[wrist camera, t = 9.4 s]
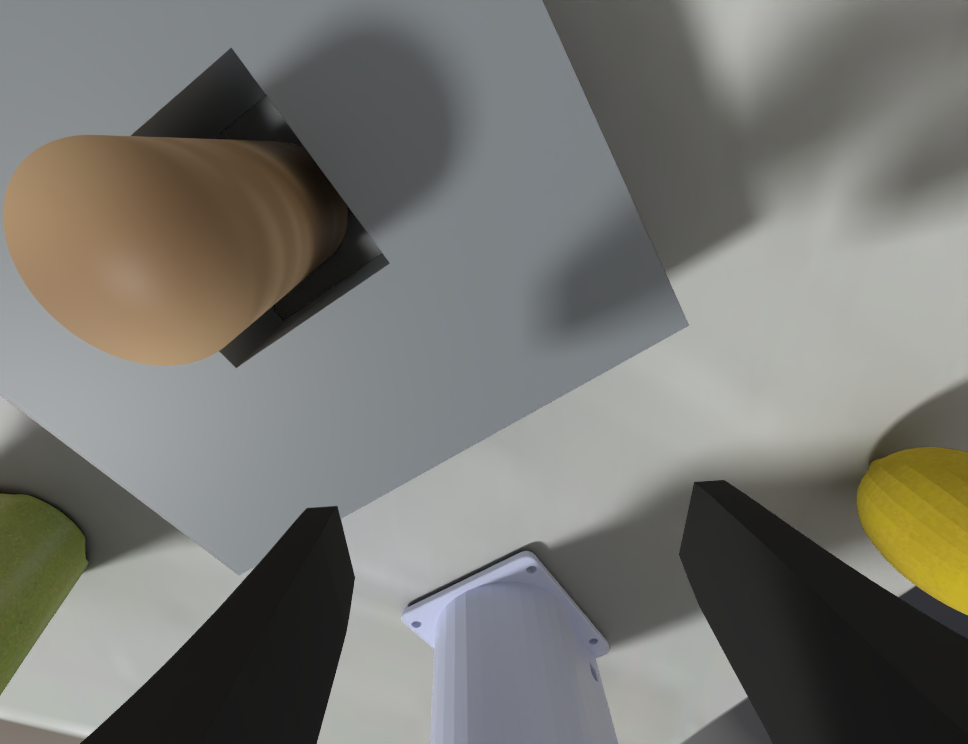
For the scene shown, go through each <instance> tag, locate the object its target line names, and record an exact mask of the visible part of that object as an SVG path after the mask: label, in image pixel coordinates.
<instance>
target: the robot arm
mask: <svg viewBox="0 0 968 744" xmlns="http://www.w3.org/2000/svg"><path fill="white" fill-rule="evenodd" d="M679 556H680V558H681V561H682V563H683V566H684V569H685V571H686V574H687V577H688V579H689V582H690V584H691V587H692V589H693V592H694V594H695V596H696V599H697V601H698V604H699V606H700V608H701V610H702V612H703V614H704V615H705V617H706V619H707V621H708V623H709V625H710V627H711V629H712V631H713V632H714V634H715V636H716V638H717V640H718V642H719V644H720V646H721V647H722V649H723V651H724V653H725V655H726V657H727V659H728V660H729V662H730V664H731V666H732V668H733V670H734V671H735V673H736V675H737V677H738V679H739V681H740V683H741V684H742V686H743V688H744V690H745V692H746V694H747V696H748V697H749V699H750V701H751V703H752V705H753V707H754V708H755V710H756V712H757V714H758V716H759V717H760V720H761V721H762V723H763V725H764V727H765V729H766V731H767V733H768V735H769V737H770V739H771V741H772V743H773V744H968V639H966V638H965V637H963V636H961V635H960V634H958V633H956V632H954V631H953V630H951V629H949V628H947V627H946V626H944V625H942V624H941V623H939V622H937V621H936V620H934V619H932V618H930V617H929V616H927V615H926V614H924V613H922V612H921V611H919V610H917V609H916V608H914V607H913V606H911V605H909V604H908V603H906V602H905V601H903V600H901V599H900V598H898V597H897V596H895V595H894V594H892V593H890V592H889V591H887V590H886V589H884V588H882V587H881V586H879V585H878V584H876V583H874V582H873V581H871V580H870V579H868V578H867V577H865V576H864V575H862V574H861V573H859V572H858V571H856V570H855V569H853V568H851V567H850V566H848V565H847V564H845V563H844V562H842V561H841V560H839V559H838V558H836V557H835V556H834V555H832V554H831V553H829V552H828V551H826V550H825V549H823V548H822V547H820V546H819V545H817V544H816V543H814V542H813V541H812V540H810V539H809V538H807V537H806V536H804V535H803V534H801V533H800V532H799V531H797V530H796V529H794V528H793V527H791V526H790V525H789V524H787V523H786V522H784V521H783V520H781V519H780V518H779V517H777V516H776V515H774V514H773V513H771V512H770V511H769V510H767V509H766V508H764V507H763V506H761V505H760V504H759V503H757V502H756V501H754V500H753V499H751V498H750V497H749V496H747V495H746V494H744V493H743V492H741V491H740V490H738V489H737V488H735V487H734V486H732V485H731V484H729V483H728V482H726V481H724V480H719V481H704V482H694V486H693V491H692V496H691V500H690V505H689V510H688V515H687V519H686V524H685V529H684V534H683V538H682V543H681V548H680V553H679ZM529 566H532V567H529ZM354 580H355V576H354V572H353V568H352V564H351V560H350V556H349V551H348V547H347V543H346V539H345V535H344V531H343V527H342V523H341V519H340V514H339V510H338V506H329V507H314V508H306V509H305V510H304V511H303V512H302V514H301V515H300V516H299V517H298V518H297V519H296V520H295V522H294V523H293V524H292V525H291V526H290V527H289V529H288V530H287V531H286V532H285V533H284V534H283V536H282V537H281V538H280V539H279V540H278V541H277V543H276V544H275V545H274V546H273V547H272V548H271V550H270V551H269V552H268V553H267V554H266V555H265V557H264V558H263V559H262V560H261V561H260V562H259V564H258V565H257V566H256V567H255V568H254V569H253V570H252V572H251V573H250V574H249V575H248V576H247V577H246V578H245V579H244V581H243V582H242V583H241V584H240V585H239V586H238V587H237V588H236V589H235V591H234V592H233V593H232V594H231V595H230V596H229V597H228V598H227V600H226V601H225V602H224V603H223V604H222V605H221V606H220V607H219V608H218V609H217V611H216V612H215V613H214V614H213V615H212V616H211V617H210V618H209V619H208V620H207V621H206V622H205V623H204V624H203V625H202V626H201V627H200V628H199V629H198V630H197V631H196V633H195V634H194V635H193V636H192V637H191V638H190V639H189V640H188V641H187V642H186V643H185V644H184V645H183V646H182V647H181V648H180V649H179V650H178V651H177V652H176V653H175V654H174V655H173V656H172V657H171V658H170V659H169V660H168V661H167V662H166V663H165V664H164V665H163V666H162V667H161V668H160V669H159V670H158V671H157V672H156V673H155V674H154V675H153V676H152V677H151V678H150V679H149V680H148V681H147V682H146V683H145V684H144V685H143V686H142V687H141V688H140V689H139V690H138V691H137V692H136V693H135V694H134V695H133V696H132V697H130V698H129V699H128V700H127V701H126V702H125V703H124V704H123V705H122V706H121V707H120V708H119V709H118V710H116V711H115V712H114V713H113V714H112V715H111V716H110V717H109V718H108V719H107V720H106V721H105V722H103V723H102V724H101V725H100V726H99V727H98V728H97V729H96V730H95V731H94V732H93V733H91V734H90V735H89V736H88V737H87V738H86V739H85V740H84V741H82V742H81V743H80V744H317V740H318V736H319V733H320V729H321V725H322V721H323V718H324V714H325V710H326V707H327V703H328V699H329V696H330V692H331V688H332V685H333V681H334V677H335V673H336V670H337V666H338V662H339V658H340V654H341V651H342V647H343V643H344V639H345V635H346V631H347V626H348V620H349V614H350V607H351V601H352V594H353V587H354ZM401 620H402V621H403V623H405V624H406V625H407V626H408V627H409V628H410V629H411V630H413V631H414V632H415V633H416V634H417V635H418V636H420V637H421V638H422V639H423V640H424V641H425V642H426V643H428V644H429V645H430V646H431V647H432V648H433V649H434V668H433V689H432V710H431V731H430V744H618V741H617V737H616V733H615V730H614V726H613V722H612V718H611V715H610V711H609V707H608V703H607V700H606V696H605V692H604V689H603V685H602V681H601V677H600V674H599V670H598V666H597V662H596V659H595V658H597V657H600V656H602V655H605V654H606V653H608V651H609V649H610V648H609V644H608V642H607V640H606V639H605V638H604V637H603V635H602V634H601V633H600V632H599V631H598V629H597V628H596V627H595V626H594V625H593V624H592V622H591V621H590V620H589V619H588V618H587V616H586V615H585V614H584V613H583V612H582V610H581V609H580V608H579V607H578V606H577V604H576V603H575V602H574V601H573V600H572V598H571V597H570V596H569V595H568V594H567V593H566V591H565V590H564V589H563V588H562V587H561V585H560V584H559V583H558V582H557V581H556V579H555V578H554V577H553V576H552V575H551V573H550V572H549V571H548V570H547V569H546V567H545V566H544V565H543V564H542V563H541V562H540V560H539V559H538V558H537V557H536V556H535V554H534V553H532V552H530V551H523V552H520V553H518V554H516V555H514V556H512V557H510V558H508V559H506V560H504V561H502V562H500V563H497V564H495V565H493V566H491V567H489V568H487V569H485V570H483V571H481V572H479V573H477V574H475V575H473V576H471V577H469V578H467V579H465V580H463V581H461V582H458V583H456V584H454V585H452V586H450V587H448V588H446V589H444V590H442V591H440V592H438V593H436V594H434V595H432V596H430V597H428V598H426V599H424V600H422V601H419V602H417V603H415V604H413V605H411V606H409V607H407V608H405V609H404V610H403V611H402V616H401Z"/></svg>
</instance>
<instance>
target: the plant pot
mask: <svg viewBox="0 0 968 744" xmlns="http://www.w3.org/2000/svg"><path fill="white" fill-rule="evenodd" d="M85 540H86V539H85V537H84V535H83V534H82V532H81V531H80V529H79V528H78V527H77V526H76V525H75V524H74V523H73V521H71V520H70V519H69V518H68V517H67V516H66V515H64V514H63V513H62V512H60V511H59V510H57V509H56V508H54V507H53V506H51V505H49V504H47V503H45V502H44V501H41V500H39V499H37V498H35V497H32V496H29V495H25V494H17V495H12V494H0V695H1V693H2V692H3V690H4V689H5V687H6V686H7V684H8V683H9V681H10V680H11V678H12V677H13V675H14V674H15V672H16V671H17V669H18V668H19V666H20V665H21V663H22V662H23V660H24V659H25V657H26V656H27V654H28V653H29V651H30V650H31V648H32V647H33V645H34V644H35V642H36V641H37V639H38V638H39V637H40V635H41V634H42V632H43V631H44V629H45V628H46V626H47V625H48V623H49V622H50V620H51V619H52V617H53V616H54V614H55V613H56V612H57V610H58V609H59V607H60V606H61V604H62V603H63V601H64V600H65V598H66V597H67V595H68V594H69V592H70V591H71V589H72V588H73V586H74V585H75V583H76V582H77V580H78V579H79V577H80V576H81V575H82V573H83V572H84V570H85V569H86V567H87V565H88V560H86V556H85Z"/></svg>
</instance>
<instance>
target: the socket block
mask: <svg viewBox="0 0 968 744" xmlns="http://www.w3.org/2000/svg"><path fill="white" fill-rule="evenodd" d="M266 95H267V97H268V98H269V99H270V101H271V102H272V103H273V105H274V106H275V107H276V109H277V110H278V112H279V113H280V114H281V116H282V117H283V118H284V120H285V121H286V122H287V124H288V125H289V127H290V128H291V129H292V131H293V132H294V133H295V135H296V136H297V137H298V139H299V140H300V142H301V143H302V144H303V146H304V147H305V148H306V150H307V151H308V152H309V154H310V155H311V156H312V158H313V159H314V161H315V162H316V163H317V165H318V166H319V167H320V169H321V170H322V171H323V173H324V174H325V176H326V177H327V178H328V180H329V181H330V182H331V184H332V185H333V186H334V188H335V189H336V191H337V192H338V193H339V195H340V196H341V197H342V199H343V200H344V201H345V203H346V204H347V206H348V207H349V208H350V210H351V211H352V212H353V214H354V215H355V216H356V218H357V219H358V220H359V222H360V223H361V225H362V226H363V227H364V229H365V230H366V231H367V233H368V234H369V235H370V237H371V238H372V240H373V241H374V242H375V244H376V245H377V246H378V248H379V249H380V250H381V252H382V253H381V254H380V255H379V256H377V257H376V258H374V259H373V260H371V261H370V262H368V263H367V264H366V265H364V266H363V267H361V268H360V269H358V270H357V271H355V272H354V273H352V274H351V275H350V276H348V277H347V278H345V279H344V280H342V281H341V282H339V283H338V284H337V285H335V286H334V287H332V288H331V289H329V290H328V291H326V292H325V293H323V294H322V295H321V296H319V297H318V298H316V299H315V300H313V301H312V302H310V303H309V304H307V305H306V306H305V307H303V308H302V309H300V310H299V311H297V312H296V313H294V314H293V315H292V316H290V317H289V318H287V319H286V320H284V321H283V320H282V319H281V318H280V317H279V316H278V315H277V313H276V312H275V311H274V310H273V309H272V308H270V309H268V310H267V311H266V312H265V313H264V314H263V315H261V316H260V317H259V318H258V319H257V320H256V321H254V322H253V323H252V324H251V325H250V326H249V327H247V328H246V329H245V330H244V331H243V332H242V333H240V334H239V335H238V336H237V337H236V338H234V339H233V340H232V341H231V342H230V343H229V344H227V345H226V346H225V347H224V348H223V349H221V350H220V351H218V352H217V353H215V354H213V355H212V356H210V357H207V358H205V359H202V360H200V361H196V362H192V363H188V364H182V365H174V366H158V365H148V364H142V363H137V362H132V361H129V360H125V359H122V358H119V357H116V356H113V355H111V354H109V353H106V352H104V351H102V350H100V349H98V348H96V347H94V346H92V345H90V344H88V343H86V342H85V341H83V340H82V339H80V338H79V337H77V336H76V335H74V334H73V333H71V332H70V331H69V330H68V329H66V328H65V327H64V326H62V325H61V324H60V323H59V322H58V321H57V320H56V319H54V318H53V317H52V316H51V315H50V314H49V313H48V312H47V311H46V310H45V309H44V308H43V306H42V305H41V304H40V303H39V302H38V301H37V300H36V298H35V297H34V296H33V294H32V293H31V292H30V290H29V289H28V287H27V286H26V285H25V283H24V281H23V280H22V278H21V276H20V274H19V273H18V271H17V269H16V267H15V264H14V262H13V260H12V258H11V255H10V252H9V249H8V246H7V242H6V239H5V233H4V226H3V204H4V198H5V193H6V190H7V187H8V184H9V181H10V179H11V177H12V175H13V174H14V172H15V170H16V169H17V167H18V166H19V165H20V164H21V163H22V161H23V160H24V159H25V158H26V157H27V156H28V155H30V154H31V153H32V152H34V151H35V150H36V149H38V148H39V147H41V146H43V145H45V144H47V143H49V142H51V141H54V140H58V139H61V138H65V137H69V136H77V135H112V136H141V137H170V138H199V139H214V138H215V137H216V136H217V135H219V134H220V133H221V132H222V131H223V130H225V129H226V128H227V127H228V126H229V125H231V124H232V123H233V122H234V121H235V120H237V119H238V118H239V117H240V116H241V115H243V114H244V113H245V112H246V111H248V110H249V109H250V108H251V107H252V106H254V105H255V104H256V103H257V102H258V101H260V100H261V99H262V98H263V97H264V96H266ZM687 326H689V324H688V322H687V320H686V318H685V315H684V313H683V311H682V309H681V306H680V304H679V302H678V300H677V298H676V295H675V293H674V291H673V289H672V287H671V284H670V282H669V280H668V278H667V275H666V273H665V271H664V269H663V267H662V264H661V262H660V260H659V258H658V255H657V253H656V251H655V249H654V247H653V244H652V242H651V240H650V238H649V236H648V233H647V231H646V229H645V227H644V224H643V222H642V220H641V218H640V216H639V213H638V211H637V209H636V207H635V204H634V202H633V200H632V198H631V196H630V193H629V191H628V189H627V187H626V184H625V182H624V180H623V178H622V176H621V173H620V171H619V169H618V167H617V165H616V162H615V160H614V158H613V156H612V153H611V151H610V149H609V147H608V145H607V142H606V140H605V138H604V136H603V133H602V131H601V129H600V127H599V125H598V122H597V120H596V118H595V116H594V114H593V111H592V109H591V107H590V105H589V102H588V100H587V98H586V96H585V94H584V91H583V89H582V87H581V85H580V82H579V80H578V78H577V76H576V74H575V71H574V69H573V67H572V65H571V63H570V60H569V58H568V56H567V54H566V51H565V49H564V47H563V45H562V43H561V40H560V38H559V36H558V34H557V31H556V29H555V27H554V25H553V23H552V20H551V18H550V16H549V14H548V11H547V9H546V7H545V5H544V3H543V0H0V395H1V396H2V397H3V398H5V399H6V400H7V401H9V402H10V403H11V404H13V405H14V406H15V407H17V408H18V409H19V410H21V411H22V412H23V413H25V414H26V415H27V416H29V417H30V418H31V419H33V420H34V421H35V422H37V423H38V424H39V425H40V426H42V427H43V428H44V429H46V430H47V431H48V432H50V433H51V434H52V435H54V436H55V437H56V438H58V439H59V440H60V441H62V442H63V443H64V444H66V445H67V446H68V447H70V448H71V449H72V450H74V451H75V452H76V453H78V454H79V455H80V456H82V457H83V458H84V459H86V460H87V461H88V462H90V463H91V464H92V465H93V466H95V467H96V468H97V469H99V470H100V471H101V472H103V473H104V474H105V475H107V476H108V477H109V478H111V479H112V480H113V481H115V482H116V483H117V484H119V485H120V486H121V487H123V488H124V489H125V490H127V491H128V492H129V493H131V494H132V495H133V496H135V497H136V498H137V499H139V500H140V501H141V502H143V503H144V504H145V505H146V506H148V507H149V508H150V509H152V510H153V511H154V512H156V513H157V514H158V515H160V516H161V517H162V518H164V519H165V520H166V521H168V522H169V523H170V524H172V525H173V526H174V527H176V528H177V529H178V530H180V531H181V532H182V533H184V534H185V535H186V536H188V537H189V538H190V539H192V540H193V541H194V542H195V543H197V544H198V545H199V546H201V547H202V548H203V549H205V550H206V551H207V552H209V553H210V554H211V555H213V556H214V557H215V558H217V559H218V560H219V561H221V562H222V563H223V564H225V565H226V566H227V567H229V568H230V569H231V570H233V571H234V572H235V573H237V574H238V575H241V574H242V573H244V572H246V571H248V570H250V569H251V568H253V567H255V566H257V565H258V564H259V562H260V561H261V560H262V559H263V558H264V557H265V555H266V554H267V553H268V552H269V551H270V550H271V548H272V547H273V546H274V545H275V544H276V543H277V541H278V540H279V539H280V538H281V537H282V536H283V534H284V533H285V532H286V531H287V530H288V529H289V527H290V526H291V525H292V524H293V523H294V522H295V520H296V519H297V518H298V517H299V516H300V515H301V514H302V512H303V511H304V510H305V509H306V508H314V507H329V506H338V510H339V514H340V519H341V518H343V517H345V516H347V515H349V514H350V513H352V512H354V511H356V510H358V509H359V508H361V507H363V506H365V505H367V504H368V503H370V502H372V501H374V500H376V499H377V498H379V497H381V496H383V495H385V494H386V493H388V492H390V491H392V490H394V489H395V488H397V487H399V486H401V485H403V484H404V483H406V482H408V481H410V480H412V479H413V478H415V477H417V476H419V475H421V474H422V473H424V472H426V471H428V470H430V469H431V468H433V467H435V466H437V465H439V464H440V463H442V462H444V461H446V460H448V459H449V458H451V457H453V456H455V455H457V454H458V453H460V452H462V451H464V450H466V449H467V448H469V447H471V446H473V445H475V444H476V443H478V442H480V441H482V440H484V439H485V438H487V437H489V436H491V435H493V434H494V433H496V432H498V431H500V430H502V429H503V428H505V427H507V426H509V425H511V424H512V423H514V422H516V421H518V420H520V419H521V418H523V417H525V416H527V415H529V414H530V413H532V412H534V411H536V410H538V409H539V408H541V407H543V406H545V405H547V404H548V403H550V402H552V401H554V400H556V399H557V398H559V397H561V396H563V395H565V394H566V393H568V392H570V391H572V390H574V389H575V388H577V387H579V386H581V385H583V384H584V383H586V382H588V381H590V380H592V379H593V378H595V377H597V376H599V375H601V374H602V373H604V372H606V371H608V370H610V369H611V368H613V367H615V366H617V365H619V364H620V363H622V362H624V361H626V360H628V359H629V358H631V357H633V356H635V355H637V354H638V353H640V352H642V351H644V350H646V349H647V348H649V347H651V346H653V345H655V344H656V343H658V342H660V341H662V340H664V339H665V338H667V337H669V336H671V335H673V334H674V333H676V332H678V331H680V330H682V329H683V328H685V327H687Z"/></svg>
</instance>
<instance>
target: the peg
mask: <svg viewBox="0 0 968 744" xmlns="http://www.w3.org/2000/svg"><path fill="white" fill-rule="evenodd" d="M347 225H348V207H347V204H346V203H345V201H344V200H343V199H342V197H341V196H340V195H339V193H338V192H337V191H336V189H335V188H334V186H333V185H332V184H331V182H330V181H329V180H328V178H327V177H326V176H325V174H324V173H323V171H322V170H321V169H320V167H319V166H318V165H317V163H316V162H315V161H314V159H313V158H312V156H311V155H310V154H309V152H308V151H307V150H306V149H305V148H302V147H300V146H298V145H295V144H292V143H288V142H281V141H257V140H228V139H199V138H170V137H141V136H112V135H77V136H69V137H65V138H61V139H58V140H54V141H51V142H49V143H47V144H45V145H43V146H41V147H39V148H38V149H36V150H35V151H34V152H32V153H31V154H30V155H28V156H27V157H26V158H25V159H24V160H23V161H22V163H21V164H20V165H19V166H18V167H17V169H16V170H15V172H14V174H13V175H12V177H11V179H10V181H9V184H8V187H7V190H6V193H5V198H4V204H3V226H4V233H5V239H6V242H7V246H8V249H9V252H10V255H11V258H12V260H13V262H14V264H15V267H16V269H17V271H18V273H19V274H20V276H21V278H22V280H23V281H24V283H25V285H26V286H27V287H28V289H29V290H30V292H31V293H32V294H33V296H34V297H35V298H36V300H37V301H38V302H39V303H40V304H41V305H42V306H43V308H44V309H45V310H46V311H47V312H48V313H49V314H50V315H51V316H52V317H53V318H54V319H56V320H57V321H58V322H59V323H60V324H61V325H62V326H64V327H65V328H66V329H68V330H69V331H70V332H71V333H73V334H74V335H76V336H77V337H79V338H80V339H82V340H83V341H85V342H86V343H88V344H90V345H92V346H94V347H96V348H98V349H100V350H102V351H104V352H106V353H109V354H111V355H113V356H116V357H119V358H122V359H125V360H129V361H132V362H137V363H142V364H148V365H158V366H174V365H182V364H188V363H192V362H196V361H200V360H202V359H205V358H207V357H210V356H212V355H213V354H215V353H217V352H218V351H220V350H221V349H223V348H224V347H225V346H226V345H227V344H229V343H230V342H231V341H232V340H233V339H234V338H236V337H237V336H238V335H239V334H240V333H242V332H243V331H244V330H245V329H246V328H247V327H249V326H250V325H251V324H252V323H253V322H254V321H256V320H257V319H258V318H259V317H260V316H261V315H263V314H264V313H265V312H266V311H267V310H268V309H270V308H271V307H272V306H273V305H274V304H275V303H277V302H278V301H279V300H280V299H281V298H282V297H284V296H285V295H286V294H287V293H288V292H290V291H291V290H292V289H293V288H294V287H295V286H297V285H298V284H299V283H300V282H301V281H302V280H304V279H305V278H306V277H307V276H308V275H309V274H311V273H312V272H313V271H314V270H315V269H316V268H318V267H319V266H320V265H321V264H322V263H323V262H325V261H326V260H327V259H328V258H329V257H330V256H332V255H333V254H334V253H335V252H336V250H337V249H338V248H339V246H340V245H341V243H342V241H343V239H344V237H345V234H346V230H347Z"/></svg>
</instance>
